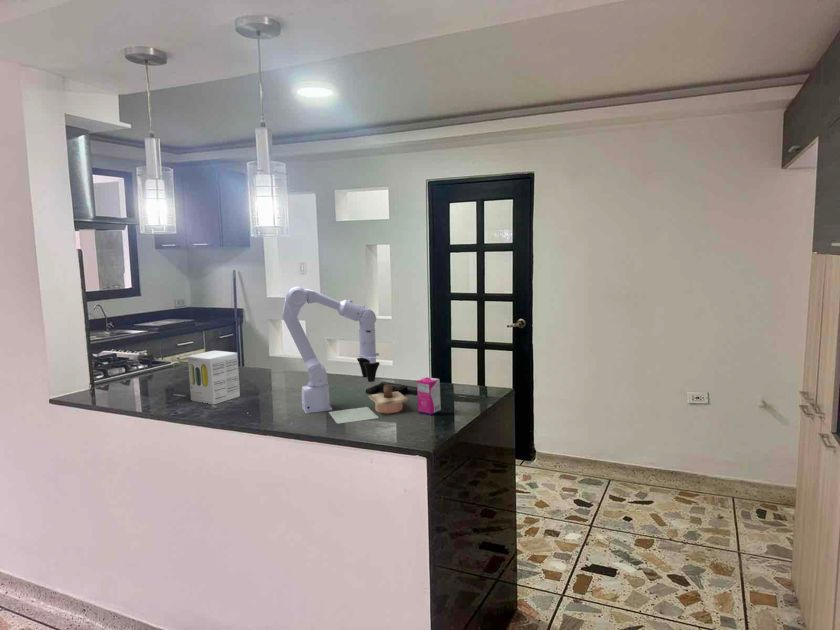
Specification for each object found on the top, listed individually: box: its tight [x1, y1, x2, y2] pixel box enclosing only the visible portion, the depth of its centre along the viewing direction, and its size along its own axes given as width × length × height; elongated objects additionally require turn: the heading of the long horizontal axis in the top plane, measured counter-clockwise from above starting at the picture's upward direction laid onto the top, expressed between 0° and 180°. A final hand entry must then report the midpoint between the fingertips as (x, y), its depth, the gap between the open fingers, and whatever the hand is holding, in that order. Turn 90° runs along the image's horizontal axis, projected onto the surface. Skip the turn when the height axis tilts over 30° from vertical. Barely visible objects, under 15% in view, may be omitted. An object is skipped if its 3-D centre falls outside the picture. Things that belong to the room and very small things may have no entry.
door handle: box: [365, 381, 418, 396], centre depth 215 cm, size 3×20×16 cm
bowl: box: [374, 402, 404, 414], centre depth 194 cm, size 9×9×4 cm
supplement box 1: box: [187, 350, 241, 405], centre depth 214 cm, size 13×13×18 cm
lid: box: [368, 385, 410, 405], centre depth 193 cm, size 11×11×5 cm
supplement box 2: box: [416, 376, 442, 416], centre depth 190 cm, size 6×6×12 cm
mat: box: [328, 406, 379, 424], centre depth 188 cm, size 14×14×1 cm
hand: (368, 379), depth 201 cm, fingers open, 7 cm apart
